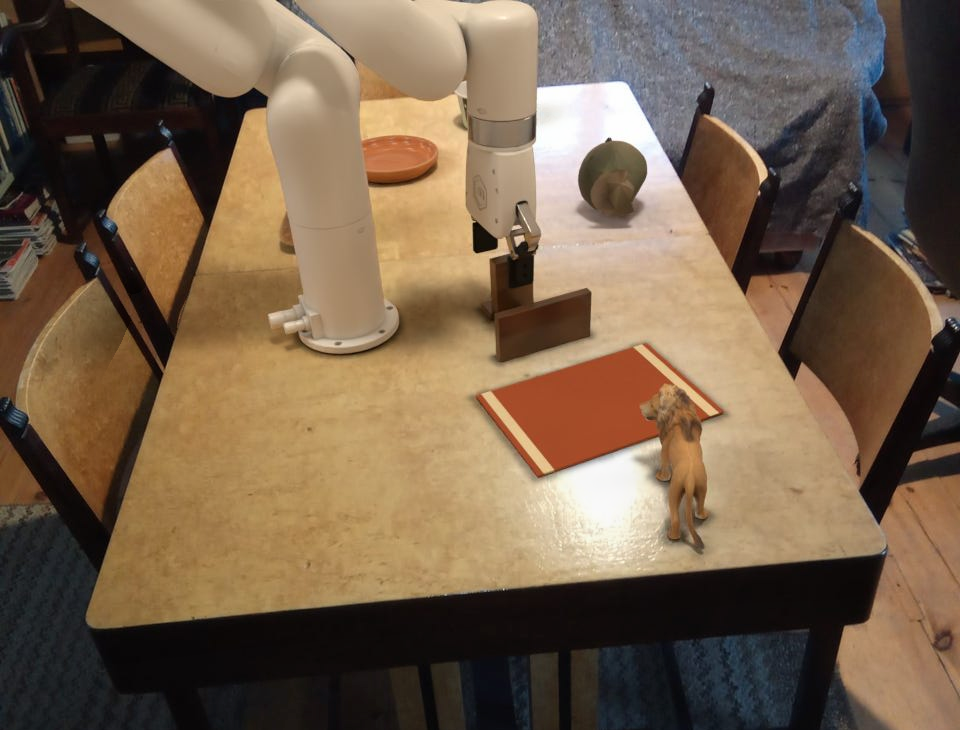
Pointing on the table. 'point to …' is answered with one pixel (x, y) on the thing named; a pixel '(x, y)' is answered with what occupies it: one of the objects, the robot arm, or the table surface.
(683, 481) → the lion figurine
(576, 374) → the towel
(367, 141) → the saucer
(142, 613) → the table surface
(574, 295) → the rod with end plates
